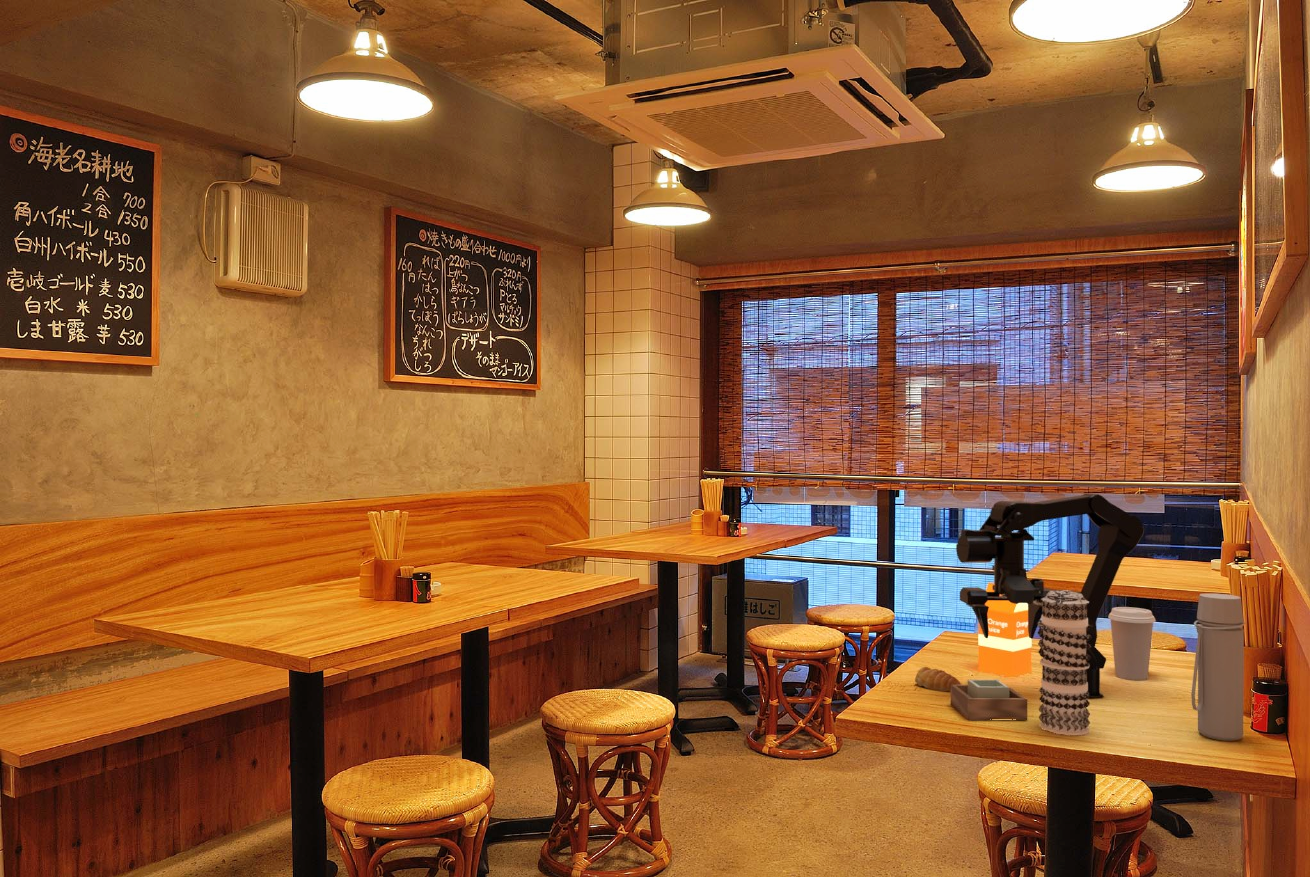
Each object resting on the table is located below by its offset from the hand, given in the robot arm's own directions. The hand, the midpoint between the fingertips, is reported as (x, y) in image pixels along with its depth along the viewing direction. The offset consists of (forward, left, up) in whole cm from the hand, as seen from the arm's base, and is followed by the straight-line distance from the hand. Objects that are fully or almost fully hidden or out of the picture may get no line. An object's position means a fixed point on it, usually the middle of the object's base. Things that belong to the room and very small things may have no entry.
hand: (1008, 638), depth 200 cm
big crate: (+8, +12, -12) cm, 19 cm away
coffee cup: (-34, -17, -12) cm, 40 cm away
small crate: (+8, +12, -11) cm, 19 cm away
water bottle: (-27, +27, -12) cm, 40 cm away
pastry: (+12, -8, -12) cm, 19 cm away
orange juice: (-7, -21, -12) cm, 25 cm away
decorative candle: (-2, +22, -12) cm, 26 cm away
